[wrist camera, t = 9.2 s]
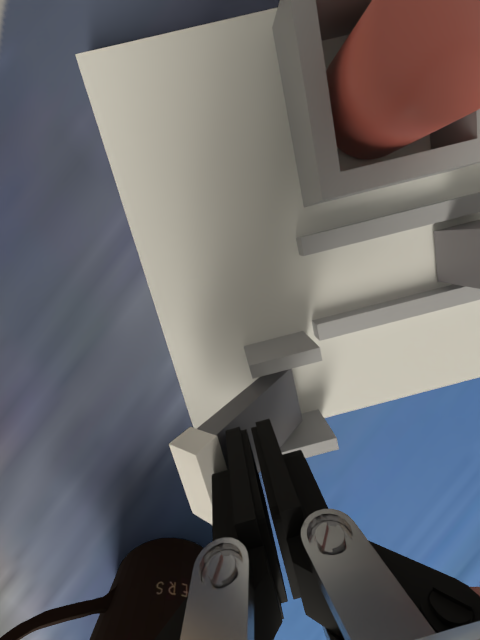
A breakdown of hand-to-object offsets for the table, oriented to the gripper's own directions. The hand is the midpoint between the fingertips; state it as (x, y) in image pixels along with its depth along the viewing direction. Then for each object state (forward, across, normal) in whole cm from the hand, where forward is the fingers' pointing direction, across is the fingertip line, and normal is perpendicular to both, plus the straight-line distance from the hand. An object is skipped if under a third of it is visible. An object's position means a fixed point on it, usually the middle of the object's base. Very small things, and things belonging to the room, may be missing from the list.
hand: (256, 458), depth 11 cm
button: (+4, -8, -12) cm, 15 cm away
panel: (+6, -6, -7) cm, 11 cm away
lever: (+4, -2, 0) cm, 4 cm away
